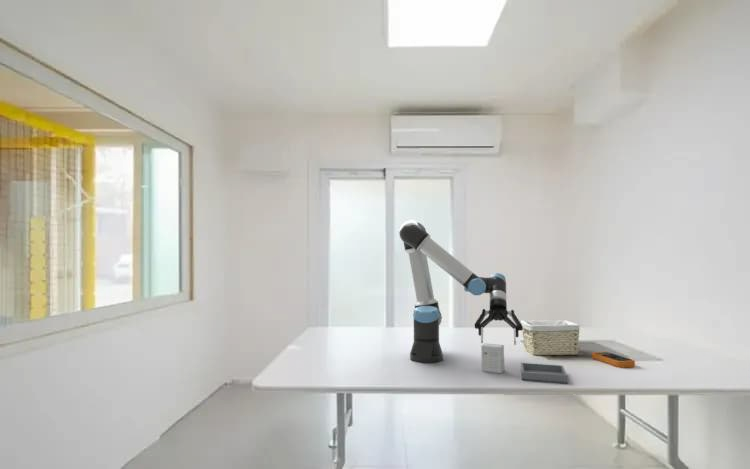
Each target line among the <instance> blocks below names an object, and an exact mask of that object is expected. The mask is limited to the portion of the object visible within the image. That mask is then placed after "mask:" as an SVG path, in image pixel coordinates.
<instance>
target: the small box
mask: <svg viewBox="0 0 750 469" xmlns="http://www.w3.org/2000/svg"><path fill="white" fill-rule="evenodd" d="M480 348H481V349H480V350H481V371H482V372H487V373H494V374H502V373H503V372H505V350H504V348H505V346H504V344H499V343H498V344H496V343H488V342H487V343H482V345H481V347H480Z"/></svg>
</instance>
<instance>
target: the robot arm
mask: <svg viewBox="0 0 750 469" xmlns="http://www.w3.org/2000/svg"><path fill="white" fill-rule="evenodd" d="M399 237H400V239H401V241H402V242H403V247H404V251H405V252H406V253H407V254H408V258H409V259H408V260H409V264H410V268H411V275H412V279H413V285H414V291H415V296H416V302H415V304H414V309H413V314H412V316H413V343H412V347H411V349H410V352H409V359H410V360H411V359H412V360H411V361H413V360H414V362H418V363H438V362H441V361H444V352H443V350H442V347H441V344H440V325H441V323H442V319H443V318H442V313H441V310H440V306H439V300H437V299H436V298H435V295H434V290H433V284H432V280H431V279H432V278H431V273H430V268H429V263H428V259H429V260H431V261H432V262H433V263H435V264H436V265H437V266H438V267H439V268H440V269H442V270H443V271H444V272H446V273H447V274H448V275H449V276H450V277H452V278H453V279H454V280H456V282H458V283H459V284H460V285H462V286H463V288H464V291H465V292H468V293H470V294H471V295H472V296H480V295H483V294H489V310H486V309H485V308H482V311H481V314H480V316H479V317H478V318H477V320H476V321H475V323H474V329H476V330H478V337H479V336H480V343H481V344H484V328H485V327H487V325H489V324H490V323H491V322H493V320H494V321H499V322H500V321H504V322H505V323H506V324H508V326H509V327H511V328H512V329H513V345H514V346H516V345H517V338H519V331H521V332H522V330H523V326H522V324H521V320H519V318H518V317H517V315H516V314H515V310H514V309H511V310H509V311H508V306H507V280H506V277H505V275H504V274H502V273H498V272H496V273H492V274H491V275H490V277H483V276H478V275H477V274H475V273H474V272H473V271H472V270H470V269H469V268H468V267H467V266H466V265H464V264H463V263H462V262H461V261H459V260H458V259H457V258H455V257H454V256H453V255H452V254H450V253H449V252H448V251H447V250H445V249H444V248H443V247H442V246H441V245H439V243H437V242H436V241H434V240H433V239H432V238H431V235H430V234H429V233H428V231H427V229H426V228H425V227H424V225H423V224H421V223H420V222H418V221H415V220H408V221H405V222H404V223H403V224H402V225H401V226H400V228H399ZM487 315H488V316H487ZM508 315H509V316H508ZM486 316H487V317H486ZM485 317H486V318H485ZM509 317H511V318H512V319H511V318H509Z"/></svg>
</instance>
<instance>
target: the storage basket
mask: <svg viewBox="0 0 750 469" xmlns="http://www.w3.org/2000/svg"><path fill="white" fill-rule="evenodd" d="M520 323H521V324H522V326H523V330H522V331H521V332H522V333H521V334H522V340H523V349H524V350H525V351H526V352H528V353H529V354H531V355H534V356H565V355H566V356H568V355H571V356H572V355H579V341H580V339H579V337H580V324H578V323H576V322H573V321H569V320H566V319H563V320H561V319H560V320H557V319H556V320H554V319H552V320H551V319H549V320H548V319H547V320H543V319H542V320H540V319H539V320H538V319H537V320H535V319H534V320H532V319H529V320H527V319H521V320H520Z"/></svg>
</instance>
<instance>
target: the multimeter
mask: <svg viewBox="0 0 750 469" xmlns="http://www.w3.org/2000/svg"><path fill="white" fill-rule="evenodd" d="M591 357H592V359H593V360H594V361H598V362H601V363H605V364H607V365H610V366H612V367H616V368H618V367H619V369H620V368H621V369H627V368H629V369H630V368H635V366H636V363H635V362H636V360H635V359H633V358H629V357H625V356H623V355H622V356H621V355H618V354H615V353H611V352H609V351H593V352H592V353H591Z"/></svg>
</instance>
